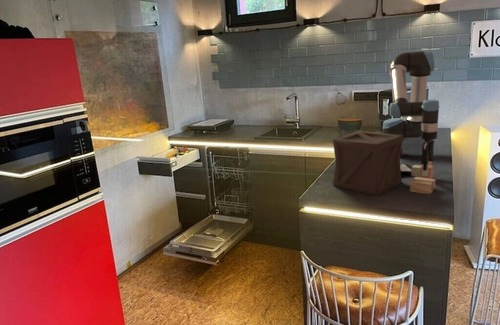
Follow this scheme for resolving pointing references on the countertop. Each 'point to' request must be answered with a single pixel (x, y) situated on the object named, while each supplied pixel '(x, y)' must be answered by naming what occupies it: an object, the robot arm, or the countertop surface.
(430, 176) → the terracotta block
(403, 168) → the empty snack wrapper
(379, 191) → the wooden crate
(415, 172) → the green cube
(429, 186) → the oak block
